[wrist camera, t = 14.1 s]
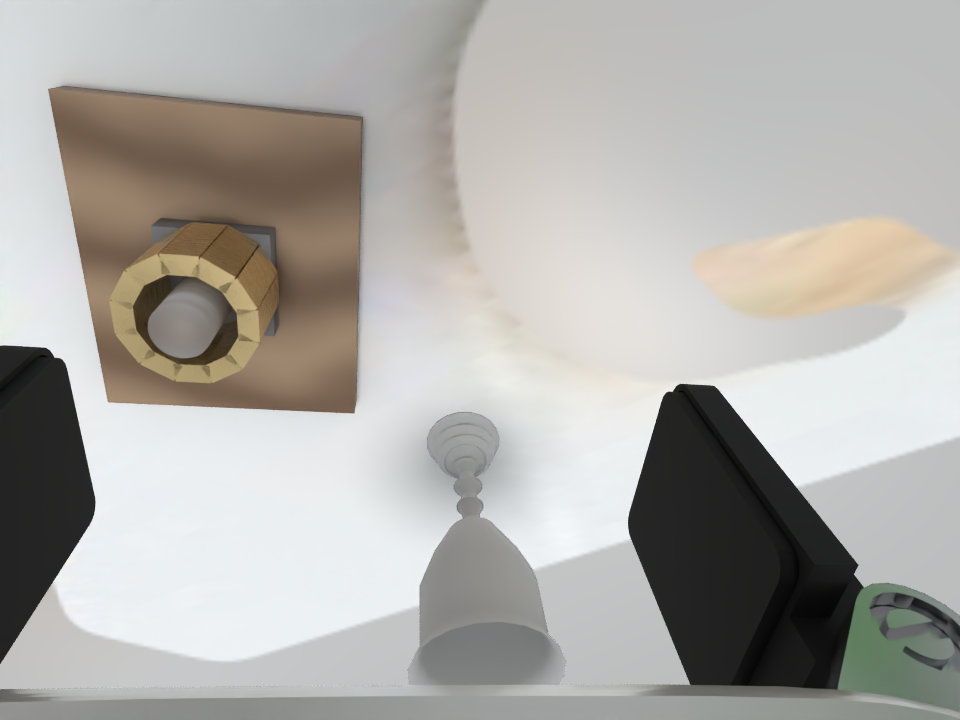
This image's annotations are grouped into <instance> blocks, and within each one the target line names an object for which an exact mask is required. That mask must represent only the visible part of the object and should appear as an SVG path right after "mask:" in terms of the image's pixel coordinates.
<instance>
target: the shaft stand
mask: <svg viewBox="0 0 960 720" xmlns="http://www.w3.org/2000/svg"><path fill="white" fill-rule="evenodd" d="M48 90H49V96H50V101H51V106H52V111H53V117H54V122H55V127H56V132H57V138H58V143H59V148H60V153H61V158H62V164H63V169H64V174H65V179H66V185H67V190H68V195H69V200H70V206H71V211H72V216H73V221H74V227H75V232H76V237H77V242H78V247H79V253H80V258H81V263H82V268H83V274H84V279H85V284H86V289H87V295H88V300H89V305H90V310H91V316H92V321H93V326H94V331H95V336H96V342H97V347H98V352H99V357H100V363H101V368H102V373H103V378H104V384H105V389H106V394H107V399H108V402H113V403H135V404H157V405H180V406H202V407H224V408H246V409H269V410H291V411H313V412H335V413H354V412H355V406H356V390H357V346H358V302H359V258H360V214H361V170H362V126H363V117H358V116H348V115H338V114H329V113H319V112H309V111H300V110H290V109H280V108H271V107H261V106H251V105H242V104H232V103H222V102H213V101H203V100H193V99H184V98H174V97H164V96H155V95H145V94H135V93H126V92H116V91H106V90H97V89H87V88H77V87H68V86H61V87H56V88H51V89H48ZM191 222H192V223H193V222H198V223H210V224H223V225H227V227H228V226H231V227H233V228H234V229H236V230H238V231H239V232H241V233H243V234H244V235H246V236H248V237H249V238H251V239H253V240H254V241H256V242H258V243H259V244H258V245H261V246H262V248H263V250H264V251H265V253H266V254H267V256H268V257H269V259H270V261H271V262H272V264H273V265H274V267H275V268H276V270H277V271H278V272H277V273H278V280H279V304H278V306H277V308H276V311H275V313H274V315H273V317H272V319H271V321H270V323H269V325H268V327H267V329H266V331H265V333H264V335H263V337H262V340H261V342H260V344H259V345H258V347H257V348H256V350H255V351H254V353H253V355H252V356H251V358H250V359H249V361H248V362H247V364H246V366H245V367H244V369H242V370H241V371H239V372H236V373H234V374H232V375H230V376H227V377H225V378H223V379H221V380H218V381H216V382H214V383H213V382H212V383H196V382H176V380H174V381H173V380H171V379H169V378H167V377H165V376H163V375H161V374H159V373H157V372H155V371H153V370H151V369H148V368H146V367H144V366H142V365H140V364H141V362H140V363H138V362H137V361H136V359H135V358H134V357H133V356H132V354H131V353H130V352H129V351H128V350H127V348H126V347H125V346H124V345H123V344H122V342H121V341H120V340H119V339H118V337H117V336H116V334H115V332H114V326H113V320H112V314H111V309H110V303H109V300H110V297H111V295H112V293H113V291H114V289H115V287H116V285H117V283H118V281H119V279H120V277H121V275H122V274H123V272H124V270H125V269H126V268H127V267H129V266H130V265H131V264H132V263H133V262H134V261H135V260H137V259H138V258H139V257H140V256H141V255H142V254H144V253H145V252H146V251H147V250H148V249H149V248H150V247H152V246H153V245H154V244H155V243H156V242H157V241H159V240H160V239H161V238H162V237H163V236H165V235H167V234H169V233H171V232H173V231H175V230H177V229H179V228H181V227H183V226H185V225H187V224H189V223H191ZM170 281H171V289H172V292H171V293H170V294H169V295H168V296H167V297H166V298H165V299H164V301H163V302H162V303H161V304H160V305H159V306H158V307H157V308H156V310H155V311H154V312H153V313H152V314H151V316H150V318H149V320H148V333H149V336H150V338H151V340H152V341H153V343H154V344H155V345H156V346H157V347H158V348H159V349H160V350H161V351H163V352H164V353H166V354H168V355H171V356H174V357H178V358H192V357H196V356H198V355H200V354H202V353H203V352H204V351H205V350H206V349H207V348H208V346H209V345H210V343H211V342H212V340H213V338H214V337H215V335H216V334H217V332H218V331H219V329H220V327H221V326H222V324H223V323H232V322H234V321H236V320H237V313H236V311H235V310H234V309H233V307H232V306H231V304H230V303H229V301H228V300H227V299H226V297H225V296H224V294H223V293H222V291H220V290H218V289H217V288H215V287H213V286H211V285H209V284H208V283H206V282H204V281H202V280H200V279H199V278H197V277H192V276H177V275H170Z"/></svg>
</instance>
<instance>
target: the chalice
mask: <svg viewBox="0 0 960 720" xmlns="http://www.w3.org/2000/svg"><path fill="white" fill-rule="evenodd" d="M427 446H428V450H429V452H430V455H431V457H432V458H433V459H434V460H435V461H436V463H437V464H438V465H439V466H440V468H441V469H442V470H443V471H444V472H445V473H446V474H448V475H450V476H452V477H454V478H459V479H458V480H457V481H456V482H455V484H454V490H455V492H456V493H457V494H458V495H460V496H461V500H460V501H459V502H458V504H457V510H458V512H459V513H460V514H462V517H463V519H461V520H459V521H458V522H456V523H455V524H454V525H453V526H452V527H451V528H450V529H449V531H448V532H447V534H446V535H445V537H444V538H443V540H442V541H441V542H440V544H439V545H438V547H437V548H436V550H435V552H434V554H433V556H432V558H431V561H430V563H429V565H428V567H427V570H426V572H425V574H424V577H423V579H422V581H421V584H420V647H419V648H418V650H417V652H416V653H415V655H414V658H413V660H412V662H411V664H410V666H409V668H408V679H409V685H559V683H560V682H561V680H562V679H563V677H564V672H565V664H566V660H565V658H564V655H563V653H562V651H561V648H560V646H559V645H558V644H557V643H556V642H555V641H554V640H553V639H552V637H551V636H550V635H549V634H548V630H547V625H546V620H545V616H544V611H543V606H542V601H541V597H540V592H539V587H538V582H537V579H536V577H535V574H534V572H533V570H532V568H531V566H530V565H529V564H528V562H527V561H526V559H525V558H524V556H523V555H522V554H521V552H520V551H519V549H518V548H517V547H516V546H515V545H514V544H513V543H512V542H511V541H510V540H509V539H508V538H507V537H506V536H505V535H504V534H503V533H502V532H501V531H500V530H499V529H498V528H497V527H496V526H495V525H494V524H493V523H492V522H491V521H489V520H487V519H485V518H480V517H479V516H480V512H481V511H482V510H483V502H482V501H481V500H480V499H478V498H477V494H478V493H479V492H480V491H481V489H482V483H481V481H480V480H479V479H478V478H476V476H478V475H479V474H481V473H483V472H484V471H485V470H486V469H487V468H488V467H489V465H490V462H491V461H492V458H493V456H494V455H495V453H496V450H497V448H498V446H499V435H498V433H497V430H496V427H495V426H494V425H493V424H492V423H491V422H490V420H488V419H486V418H485V417H483V416H481V415H478V414H474V413H470V412H460V413H455V414H451V415H448V416H446V417H444V418H443V419H441V420H439V421H438V422H437V423H436V424H435V425H434V426H433V428H432V429H431V430H430V433H429V436H428V438H427Z"/></svg>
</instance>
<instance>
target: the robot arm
mask: <svg viewBox="0 0 960 720" xmlns="http://www.w3.org/2000/svg"><path fill="white" fill-rule="evenodd" d="M94 512H95V496H94V491H93V486H92V482H91V477H90V473H89V468H88V463H87V459H86V454H85V450H84V445H83V440H82V436H81V431H80V427H79V422H78V418H77V413H76V408H75V404H74V399H73V395H72V390H71V385H70V381H69V376H68V372H67V368H66V365H65V363H64V361H63V360H62V359H60V358H54V356H53V354H52V353H51V351H50V350H48V349H47V348H40V347H23V346H0V664H1V662H2V660H3V659H4V657H5V656H6V654H7V653H8V651H9V650H10V648H11V646H12V645H13V643H14V642H15V640H16V638H17V637H18V635H19V634H20V632H21V631H22V629H23V628H24V626H25V625H26V623H27V621H28V620H29V618H30V617H31V615H32V614H33V612H34V611H35V609H36V607H37V606H38V604H39V603H40V601H41V600H42V598H43V597H44V595H45V593H46V592H47V590H48V589H49V587H50V586H51V584H52V583H53V581H54V579H55V578H56V576H57V575H58V573H59V572H60V570H61V569H62V567H63V565H64V564H65V562H66V561H67V559H68V558H69V556H70V554H71V553H72V551H73V550H74V548H75V547H76V545H77V544H78V542H79V540H80V539H81V537H82V536H83V534H84V533H85V531H86V530H87V528H88V526H89V525H90V523H91V521H92V519H93V516H94ZM628 529H629V534H630V537H631V540H632V542H633V545H634V547H635V549H636V552H637V555H638V557H639V559H640V562H641V564H642V567H643V569H644V572H645V574H646V577H647V579H648V582H649V584H650V587H651V589H652V591H653V594H654V596H655V599H656V601H657V604H658V606H659V609H660V611H661V614H662V616H663V618H664V621H665V623H666V626H667V628H668V630H669V633H670V636H671V638H672V641H673V643H674V645H675V648H676V650H677V653H678V655H679V658H680V660H681V663H682V665H683V668H684V670H685V672H686V675H687V677H688V680H689V682H690V685H387V686H386V685H380V686H379V685H377V686H376V685H373V686H253V687H252V686H243V687H153V688H152V687H151V688H79V689H78V688H74V689H1V690H0V720H960V616H959V615H958V614H957V613H955V612H954V611H953V610H951V609H950V608H949V607H947V606H946V605H945V604H942V603H941V602H939V601H937V600H936V599H934V598H932V597H930V596H928V595H926V594H925V593H922V592H919V591H917V590H914V589H911V588H908V587H905V586H901V585H896V584H890V583H879V584H871V585H869V586H867V587H865V588H864V587H863V586H862V584H861V583H860V582H859V581H858V579H857V578H856V577H855V575H854V573H855V571H856V569H857V567H858V564H857V563H856V562H855V560H854V559H853V558H852V557H851V555H850V554H849V553H848V551H847V550H846V549H845V548H844V546H843V545H842V544H841V543H840V541H839V540H838V539H837V538H836V537H835V535H834V534H833V533H832V531H831V530H830V529H829V528H828V526H827V525H826V524H825V523H824V522H823V520H822V519H821V518H820V516H819V515H818V514H817V513H816V511H815V510H814V509H813V508H812V506H811V505H810V504H809V503H808V501H807V500H806V499H805V498H804V497H803V495H802V494H801V493H800V491H799V490H798V489H797V488H796V486H795V485H794V484H793V483H792V481H791V480H790V479H789V478H788V476H787V475H786V474H785V473H784V471H783V470H782V469H781V468H780V466H779V465H778V464H777V463H776V461H775V460H774V459H773V458H772V456H771V455H770V454H769V453H768V451H767V450H766V449H765V448H764V446H763V445H762V444H761V443H760V441H759V440H758V439H757V438H756V436H755V435H754V434H753V433H752V431H751V430H750V429H749V428H748V426H747V425H746V424H745V423H744V421H743V420H742V419H741V418H740V416H739V415H738V414H737V413H736V411H735V410H734V409H733V408H732V406H731V405H730V404H729V403H728V401H727V400H726V399H725V398H724V396H723V395H722V394H721V393H720V391H719V390H718V389H717V388H716V387H715V386H709V385H691V384H679V385H677V386H676V388H675V389H674V391H673V392H667V393H666V394H665V395H664V397H663V399H662V402H661V406H660V409H659V413H658V416H657V419H656V423H655V426H654V430H653V433H652V437H651V440H650V444H649V447H648V450H647V454H646V457H645V461H644V464H643V468H642V471H641V475H640V478H639V481H638V485H637V488H636V492H635V495H634V499H633V502H632V506H631V509H630V512H629V517H628Z"/></svg>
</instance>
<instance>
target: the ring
mask: <svg viewBox="0 0 960 720" xmlns="http://www.w3.org/2000/svg"><path fill="white" fill-rule="evenodd" d="M258 244H259V243H258V242H256V241H254V240H253V239H251V238H249V237H248V236H246V235H244V234H243V233H241V232H239V231H238V230H236V229H234V228H233V227H231V226H228V227H227V225H223V224H210V223H198V222H193V223H192V222H191V223H189V224H187V225H185V226H183V227H181V228H179V229H177V230H175V231H173V232H171V233H169V234H167V235H165V236H163V237H162V238H161V239H160V240H159V241H157V242H156V243H155V244H154V245H153V246H152V247H150V248H149V249H148V250H147V251H146V252H145V253H144V254H142V255H141V256H140V257H139V258H138V259H137V260H135V261H134V262H133V263H132V264H131V265H130V266H129V267H127V268H126V269H125V270H124V272H123V274H122V275H121V277H120V279H119V281H118V283H117V285H116V287H115V289H114V291H113V293H112V295H111V297H110V300H109V303H110V309H111V314H112V320H113V326H114V332H115V334H116V336H117V337H118V339H119V340H120V341H121V342H122V344H123V345H124V346H125V347H126V348H127V350H128V351H129V352H130V353H131V354H132V356H133V357H134V358H135V359H136V361H137V362H138V363H140V362H141V364H140V365H142V366H144V367H146V368H148V369H151V370H153V371H155V372H157V373H159V374H161V375H163V376H165V377H167V378H169V379H171V380H173V381H174V380H176V382H196V383H212V382H213V383H214V382H216V381H218V380H221V379H223V378H225V377H227V376H230V375H232V374H234V373H236V372H239V371H241V370H242V369H244V367H245V366H246V364H247V362H248V361H249V359H250V358H251V356H252V355H253V353H254V351H255V350H256V348H257V347H258V345H259V344H260V342H261V340H262V337H263V335H264V333H265V331H266V329H267V327H268V325H269V323H270V321H271V319H272V317H273V315H274V313H275V311H276V308H277V306H278V304H279V280H278V273H277V272H278V271H277V270H276V268H275V267H274V265H273V264H272V262H271V261H270V259H269V257H268V256H267V254H266V253H265V251H264V250H263V248H262V246H261V245H258ZM170 275H177V276H192V277H197V278H199V279H200V280H202V281H204V282H206V283H208V284H209V285H211V286H213V287H215V288H217V289H218V290H220V291H222V293H223V294H224V296H225V297H226V299H227V300H228V301H229V303H230V304H231V306H232V307H233V309H234V310H235V311H236V313H237V320H236V321H234V322H232V323H223V324H222V326H221V327H220V329H219V331H218V332H217V334H216V335H215V337H214V338H213V340H212V342H211V343H210V345H209V346H208V348H207V349H206V350H205V351H204V352H203V353H202V354H200V355H198V356H196V357H192V358H178V357H174V356H171V355H168V354H166V353H164V352H163V351H161V350H160V349H159V348H158V347H157V346H156V345H155V344H154V343H153V341H152V340H151V338H150V336H149V333H148V320H149V318H150V316H151V314H152V313H153V312H154V311H155V310H156V308H157V307H158V306H159V305H160V304H161V303H162V302H163V301H164V299H165V298H166V297H167V296H168V295H169V294H170V293H171V292H172V289H171V281H170Z"/></svg>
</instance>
